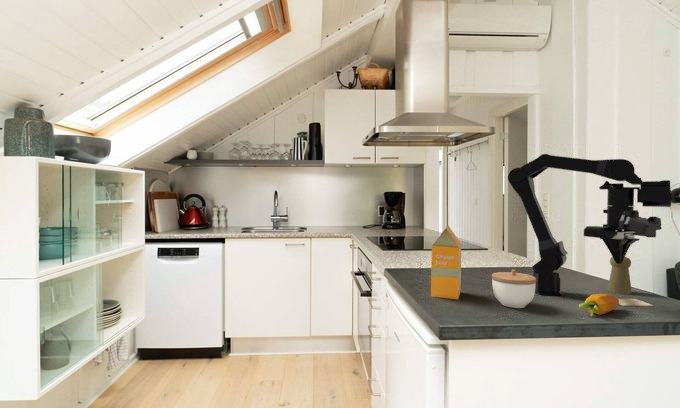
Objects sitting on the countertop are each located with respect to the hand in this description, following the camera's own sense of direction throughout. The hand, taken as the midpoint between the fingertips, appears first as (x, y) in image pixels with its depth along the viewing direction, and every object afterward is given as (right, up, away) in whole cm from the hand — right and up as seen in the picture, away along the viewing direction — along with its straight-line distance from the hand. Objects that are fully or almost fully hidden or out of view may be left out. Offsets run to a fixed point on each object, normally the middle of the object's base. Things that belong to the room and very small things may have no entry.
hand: (618, 263), depth 100 cm
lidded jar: (-30, -11, -2) cm, 32 cm away
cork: (+10, -11, +13) cm, 20 cm away
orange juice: (-45, -11, +8) cm, 47 cm away
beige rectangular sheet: (+4, -11, +1) cm, 12 cm away
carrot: (-3, -9, -4) cm, 10 cm away
